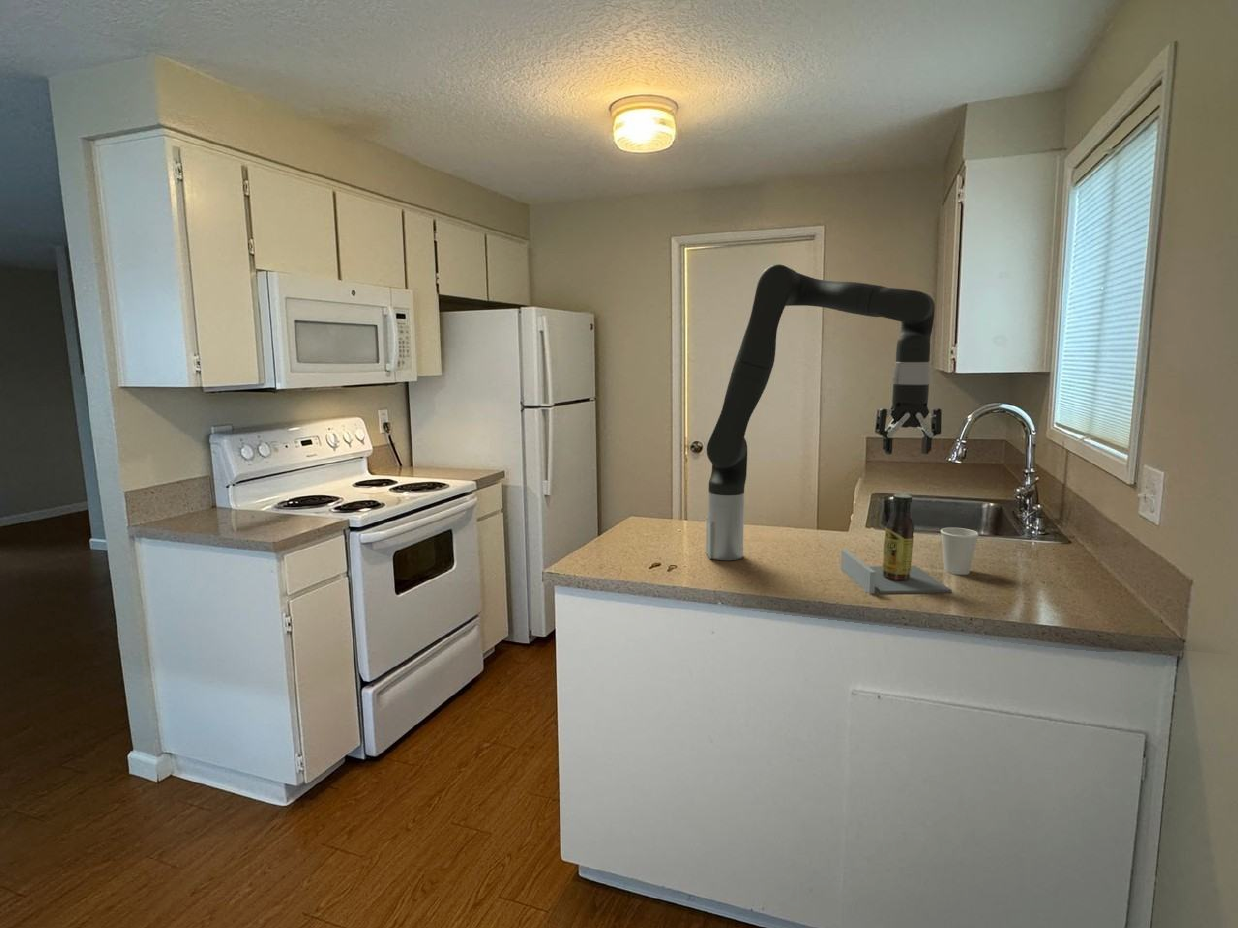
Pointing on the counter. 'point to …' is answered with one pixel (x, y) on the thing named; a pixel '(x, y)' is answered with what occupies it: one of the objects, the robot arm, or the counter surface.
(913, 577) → the slate mat
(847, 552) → the low wall
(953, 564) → the dixie cup
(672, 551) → the counter surface
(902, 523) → the sauce bottle
